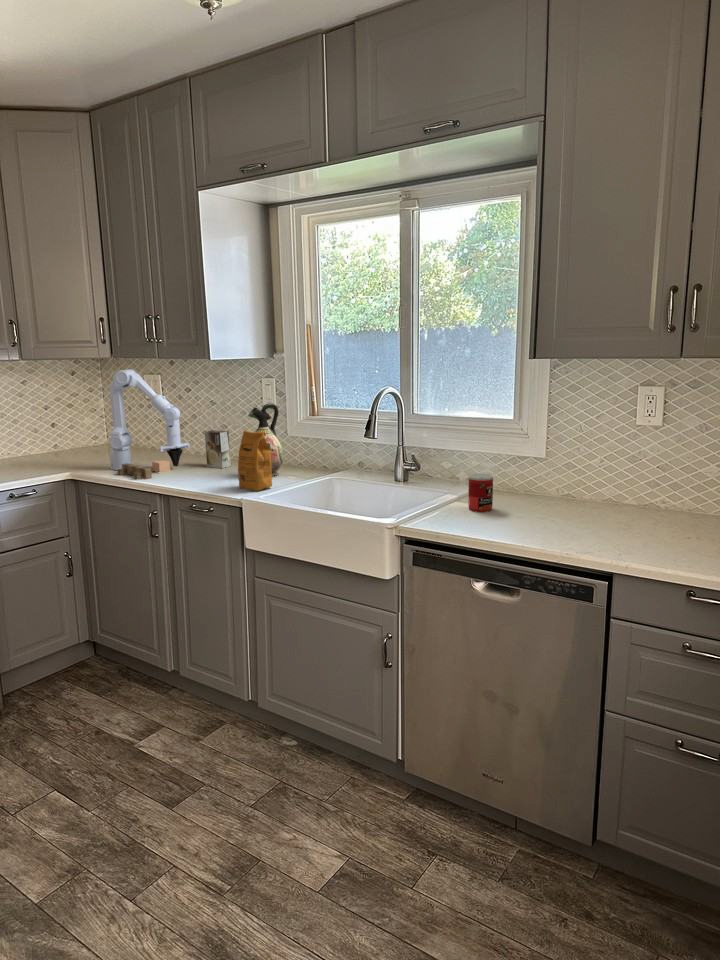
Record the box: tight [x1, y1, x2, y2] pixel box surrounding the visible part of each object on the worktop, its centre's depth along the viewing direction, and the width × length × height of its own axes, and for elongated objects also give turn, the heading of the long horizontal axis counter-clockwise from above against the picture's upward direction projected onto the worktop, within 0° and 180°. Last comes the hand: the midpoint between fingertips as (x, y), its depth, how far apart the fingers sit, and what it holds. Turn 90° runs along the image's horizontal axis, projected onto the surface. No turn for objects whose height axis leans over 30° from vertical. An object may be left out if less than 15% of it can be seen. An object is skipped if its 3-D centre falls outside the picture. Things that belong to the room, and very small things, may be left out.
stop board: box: [117, 463, 153, 480], centre depth 289 cm, size 20×5×4 cm, turn 47°
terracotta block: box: [151, 459, 171, 473], centre depth 298 cm, size 6×5×4 cm
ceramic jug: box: [248, 402, 284, 477], centre depth 283 cm, size 17×15×30 cm
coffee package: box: [237, 429, 273, 492], centre depth 259 cm, size 10×12×22 cm
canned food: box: [467, 473, 494, 513], centre depth 222 cm, size 8×8×11 cm
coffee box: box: [204, 429, 232, 469], centre depth 306 cm, size 9×6×16 cm
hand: (175, 465), depth 304 cm, fingers closed
